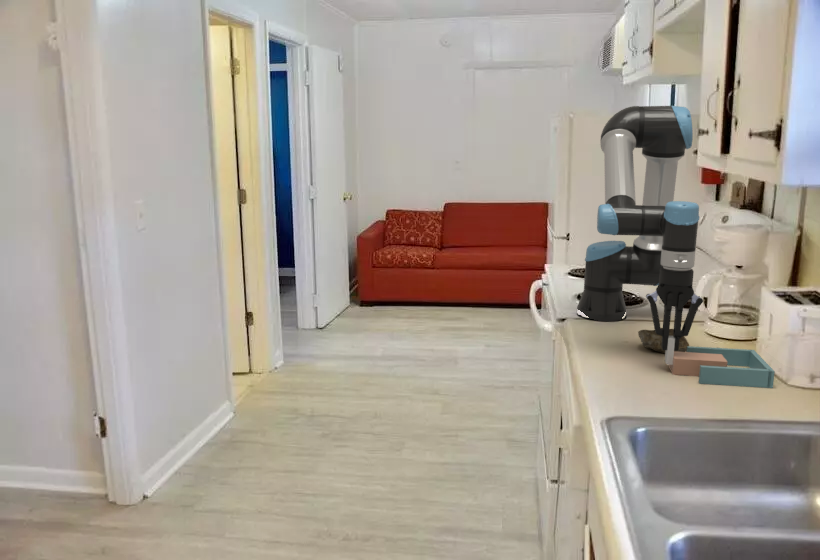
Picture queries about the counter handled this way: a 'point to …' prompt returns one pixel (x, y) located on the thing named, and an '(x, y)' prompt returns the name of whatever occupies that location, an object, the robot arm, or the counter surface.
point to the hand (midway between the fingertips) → (668, 362)
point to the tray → (750, 377)
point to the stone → (659, 340)
